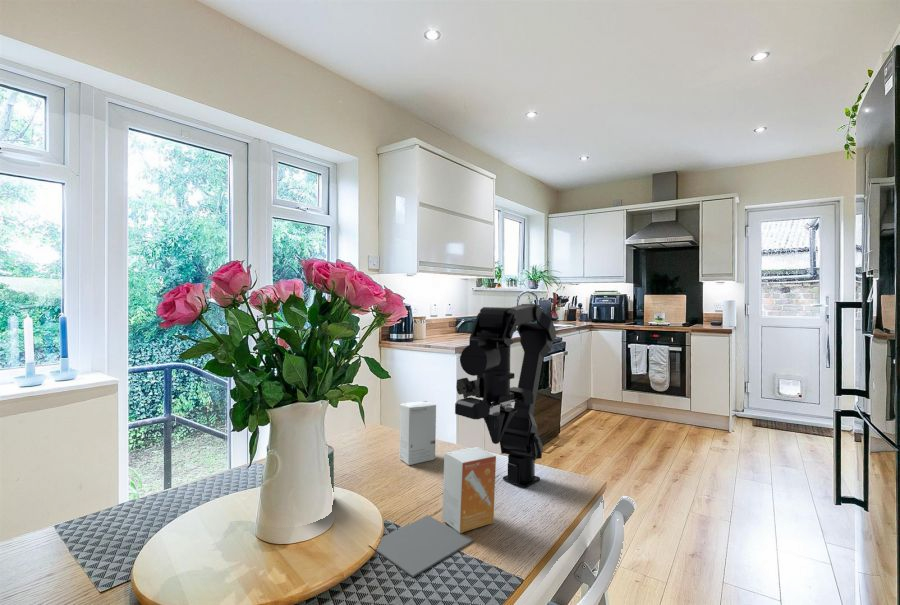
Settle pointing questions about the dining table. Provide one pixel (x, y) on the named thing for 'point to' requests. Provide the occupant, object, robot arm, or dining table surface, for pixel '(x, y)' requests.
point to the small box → (468, 488)
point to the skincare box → (417, 432)
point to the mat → (421, 545)
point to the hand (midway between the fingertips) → (495, 443)
